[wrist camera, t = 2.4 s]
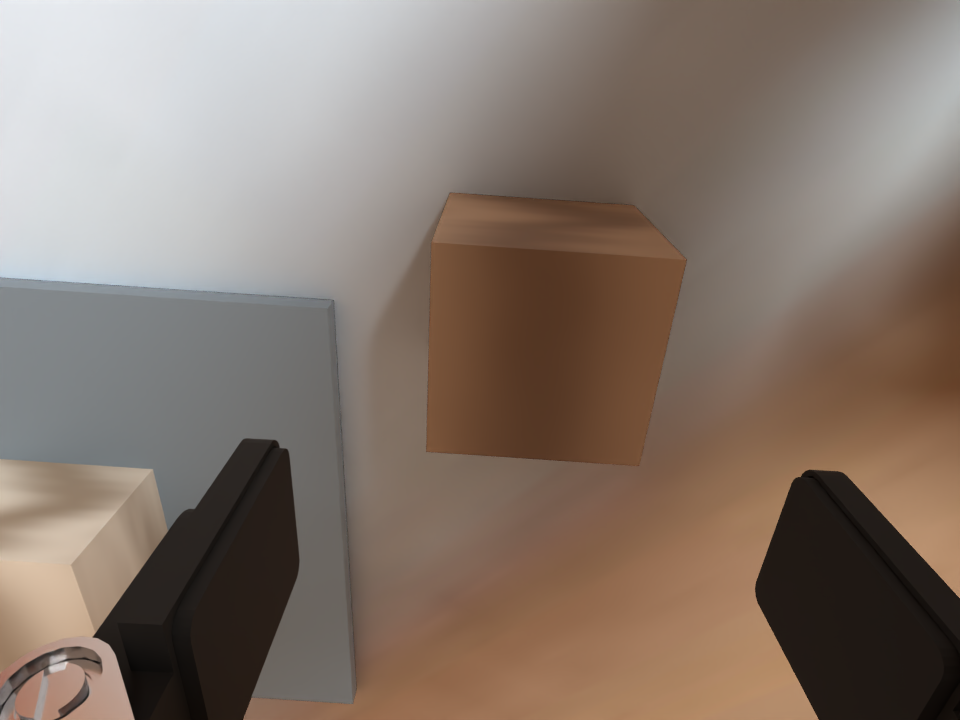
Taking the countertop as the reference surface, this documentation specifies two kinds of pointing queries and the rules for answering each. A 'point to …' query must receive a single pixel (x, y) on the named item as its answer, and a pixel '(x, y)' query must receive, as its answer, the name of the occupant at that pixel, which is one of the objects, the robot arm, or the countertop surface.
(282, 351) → the board
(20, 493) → the cream base block
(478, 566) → the countertop surface
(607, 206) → the walnut cube
